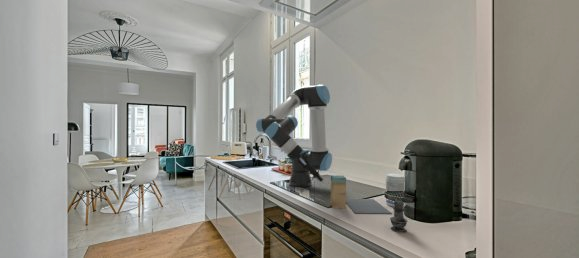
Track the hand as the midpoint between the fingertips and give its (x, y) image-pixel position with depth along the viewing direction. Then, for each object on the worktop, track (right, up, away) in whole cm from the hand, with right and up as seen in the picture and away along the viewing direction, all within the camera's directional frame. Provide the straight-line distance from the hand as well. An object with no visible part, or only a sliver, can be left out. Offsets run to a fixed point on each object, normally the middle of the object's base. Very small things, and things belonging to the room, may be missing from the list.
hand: (326, 185), depth 115 cm
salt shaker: (+22, -10, -27) cm, 37 cm away
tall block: (+6, -10, 0) cm, 12 cm away
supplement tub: (+35, -11, +3) cm, 36 cm away
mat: (+19, -10, +1) cm, 21 cm away
